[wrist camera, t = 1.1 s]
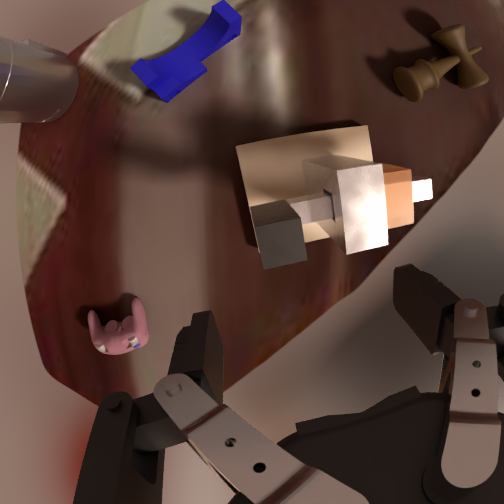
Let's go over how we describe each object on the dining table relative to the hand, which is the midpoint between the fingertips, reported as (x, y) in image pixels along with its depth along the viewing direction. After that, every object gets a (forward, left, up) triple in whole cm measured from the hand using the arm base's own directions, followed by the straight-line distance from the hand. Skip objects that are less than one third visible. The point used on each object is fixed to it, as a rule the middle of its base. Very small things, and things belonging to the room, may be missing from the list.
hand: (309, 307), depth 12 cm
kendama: (-15, +30, -25) cm, 42 cm away
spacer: (0, +12, -17) cm, 21 cm away
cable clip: (-18, -4, -25) cm, 31 cm away
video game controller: (+13, -24, -25) cm, 37 cm away
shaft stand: (0, +7, -25) cm, 26 cm away
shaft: (0, +8, -16) cm, 17 cm away
